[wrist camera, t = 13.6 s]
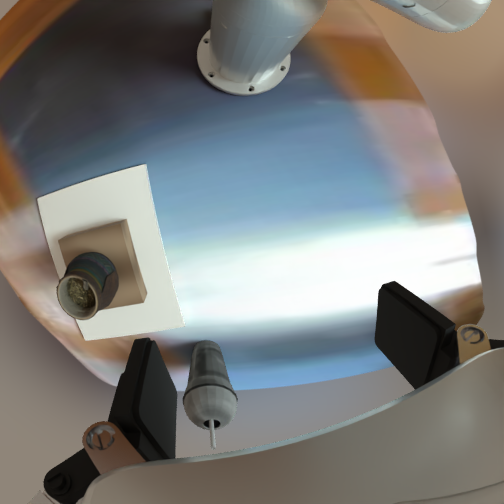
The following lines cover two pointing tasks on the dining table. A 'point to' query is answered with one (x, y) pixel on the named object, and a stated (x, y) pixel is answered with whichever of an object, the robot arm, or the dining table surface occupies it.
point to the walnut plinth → (117, 250)
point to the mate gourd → (87, 285)
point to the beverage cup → (209, 390)
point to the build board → (144, 241)
